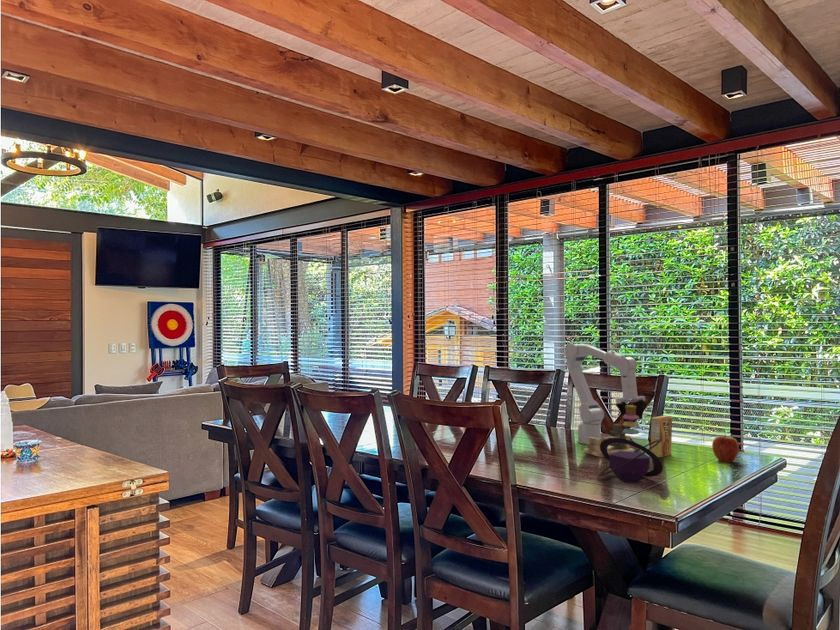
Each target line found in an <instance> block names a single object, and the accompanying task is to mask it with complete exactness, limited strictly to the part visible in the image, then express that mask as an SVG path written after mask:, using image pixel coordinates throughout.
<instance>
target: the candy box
mask: <svg viewBox="0 0 840 630" xmlns="http://www.w3.org/2000/svg"><path fill="white" fill-rule="evenodd" d="M650 420H651V422H650V423H651V425H650V428H651V429H650V433H651V435H650V443H651V442H654V441H656V440H659V439H662V440H661V442H660V443H659V444H657V445H656V446H655V447H653V448H652V449H650V451H651V452H652V453H654V454H655V455H656V456H657V457H658V458H659V457H660V458H663V457H667V456H672V440H673V439H672V438H673V437H672V435H673V433H672V432H673V431H672V430H673V417H672V416H669V415H660V416H659V415H658V416H653V417H651V419H650ZM656 443H657V442H655V443H653V444H651V445H650V448H651V447H652V446H653V445H655V444H656Z"/></svg>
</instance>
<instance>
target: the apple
mask: <svg viewBox="0 0 840 630" xmlns="http://www.w3.org/2000/svg"><path fill="white" fill-rule="evenodd" d="M711 448H712V451H713V454H714V456H715V458H716V459H717V460H718V461H720V462H723V461H724V462H723V463H733V461H735V460H736V458H737V456H738V454H739V451H740V446H739V442H738V440H737V439H736V438H734V437H733V436H727V435H726V434H724V436H723V435H722V436H721V435H718V436H716V437H715V438H714V439H713V441H712V447H711Z"/></svg>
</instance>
